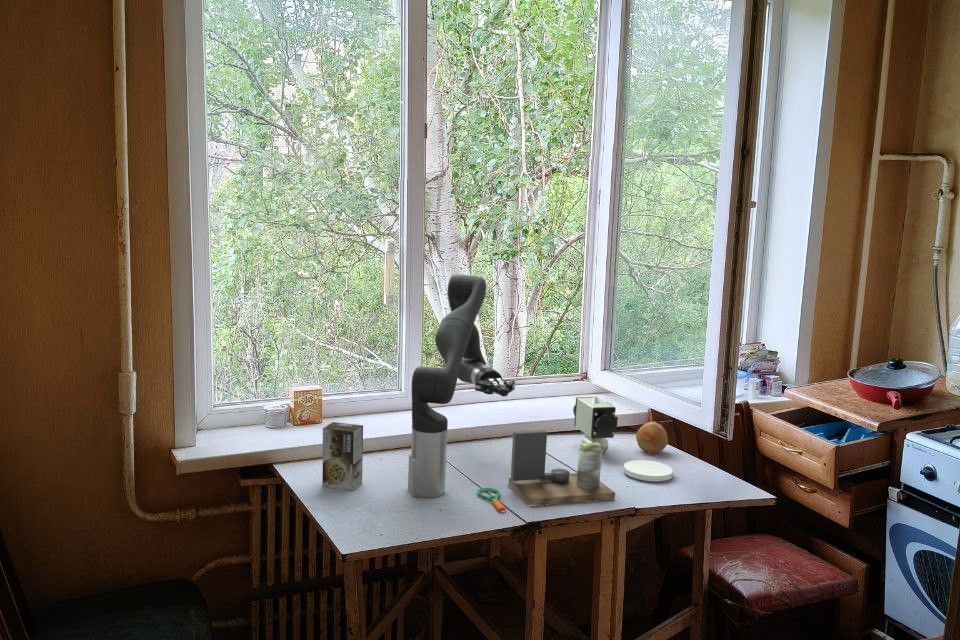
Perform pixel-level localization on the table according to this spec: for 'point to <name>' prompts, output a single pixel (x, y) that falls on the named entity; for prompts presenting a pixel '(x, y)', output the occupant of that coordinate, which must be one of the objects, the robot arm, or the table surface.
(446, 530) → the table surface
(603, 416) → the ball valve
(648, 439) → the onion
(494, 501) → the magnifying glass
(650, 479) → the plastic lid
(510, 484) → the base
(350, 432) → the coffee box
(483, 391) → the robot arm
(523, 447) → the grey panel with handle
